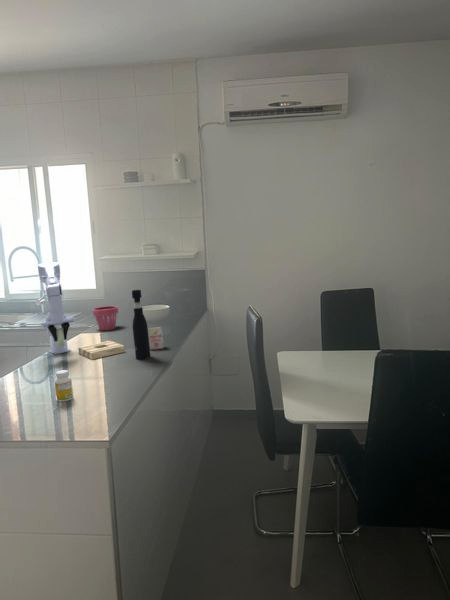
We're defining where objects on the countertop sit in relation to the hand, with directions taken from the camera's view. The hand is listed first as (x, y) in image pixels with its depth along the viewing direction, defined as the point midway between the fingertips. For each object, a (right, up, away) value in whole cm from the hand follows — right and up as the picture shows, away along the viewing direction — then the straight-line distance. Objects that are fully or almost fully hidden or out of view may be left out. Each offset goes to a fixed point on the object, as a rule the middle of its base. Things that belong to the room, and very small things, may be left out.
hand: (60, 340), depth 212 cm
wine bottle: (+39, -7, -7) cm, 40 cm away
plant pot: (+5, +1, +64) cm, 64 cm away
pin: (0, -3, 0) cm, 3 cm away
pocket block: (+17, -7, +8) cm, 20 cm away
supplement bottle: (+20, -16, -52) cm, 58 cm away
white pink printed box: (+42, -5, +8) cm, 43 cm away
